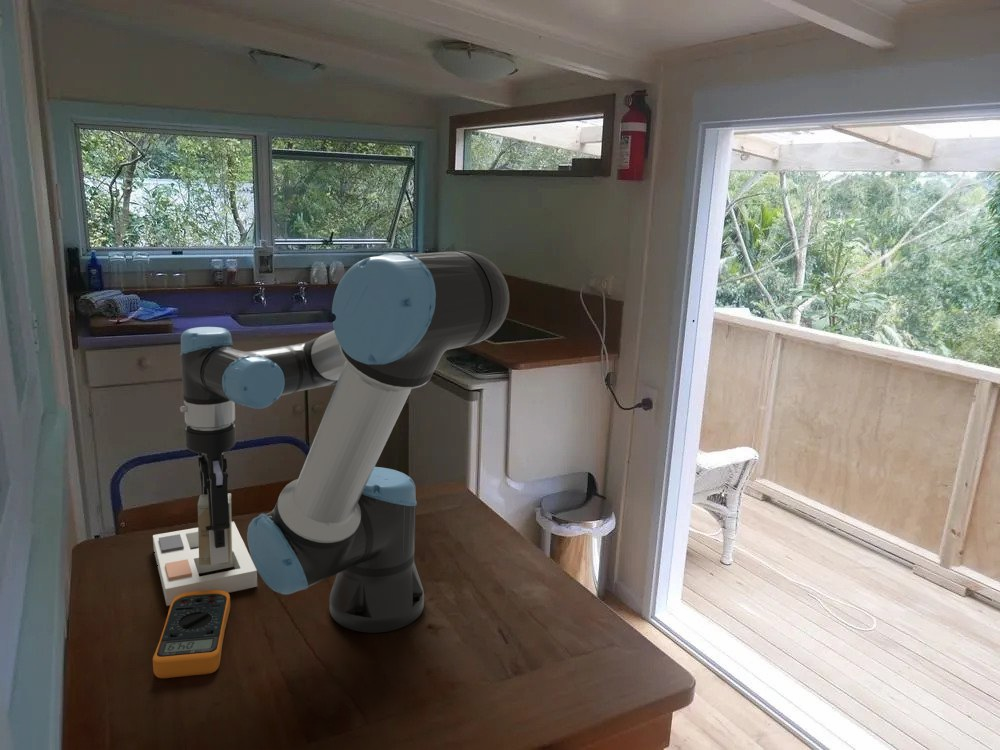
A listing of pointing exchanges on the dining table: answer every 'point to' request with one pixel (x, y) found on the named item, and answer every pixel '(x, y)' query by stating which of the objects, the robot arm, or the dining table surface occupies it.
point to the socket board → (184, 568)
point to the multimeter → (192, 634)
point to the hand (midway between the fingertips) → (216, 554)
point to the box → (204, 535)
